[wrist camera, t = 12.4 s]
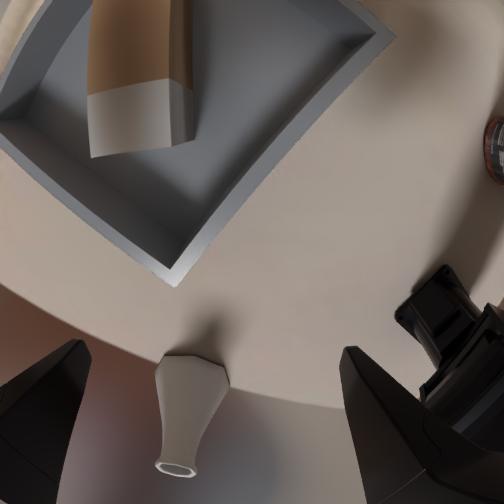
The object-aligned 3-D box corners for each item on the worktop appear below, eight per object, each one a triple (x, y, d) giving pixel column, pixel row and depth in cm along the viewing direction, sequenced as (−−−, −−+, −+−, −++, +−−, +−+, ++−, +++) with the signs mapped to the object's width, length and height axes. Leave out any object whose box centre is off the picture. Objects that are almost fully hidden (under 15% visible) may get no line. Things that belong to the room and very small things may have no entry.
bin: (364, 53, 13) (396, 36, 9) (190, 252, 19) (175, 288, 15) (157, -65, 9) (139, -94, 5) (21, 121, 14) (-19, 128, 10)
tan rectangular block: (193, -8, 11) (174, -45, 7) (194, 140, 15) (171, 146, 11) (132, 4, 11) (97, -24, 7) (132, 146, 15) (91, 158, 11)
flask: (156, 391, 26) (135, 472, 17) (154, 344, 23) (121, 441, 14) (224, 404, 27) (218, 488, 18) (235, 360, 24) (230, 463, 15)
